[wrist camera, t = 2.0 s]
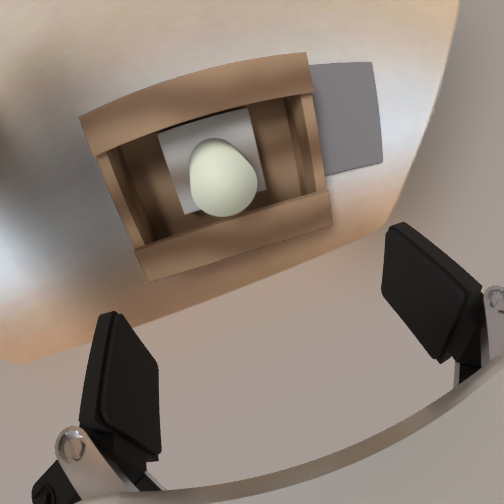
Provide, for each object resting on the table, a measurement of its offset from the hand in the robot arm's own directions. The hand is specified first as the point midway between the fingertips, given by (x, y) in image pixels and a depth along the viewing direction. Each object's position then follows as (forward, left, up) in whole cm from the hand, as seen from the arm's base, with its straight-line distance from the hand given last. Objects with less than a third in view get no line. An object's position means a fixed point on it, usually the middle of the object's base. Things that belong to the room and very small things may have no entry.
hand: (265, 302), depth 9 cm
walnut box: (0, 0, -21) cm, 21 cm away
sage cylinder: (0, 0, -18) cm, 18 cm away
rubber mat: (-1, +15, -21) cm, 26 cm away
